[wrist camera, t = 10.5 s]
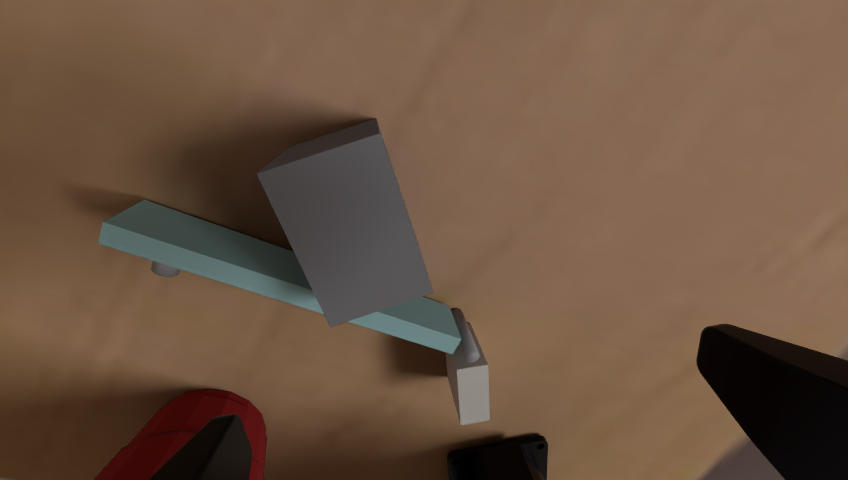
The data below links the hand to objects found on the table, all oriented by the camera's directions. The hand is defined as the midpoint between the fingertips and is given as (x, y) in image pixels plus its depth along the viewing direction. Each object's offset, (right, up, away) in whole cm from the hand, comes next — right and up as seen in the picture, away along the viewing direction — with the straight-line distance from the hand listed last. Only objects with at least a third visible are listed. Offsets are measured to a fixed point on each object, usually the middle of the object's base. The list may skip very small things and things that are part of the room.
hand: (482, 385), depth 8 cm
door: (-7, +1, +12) cm, 13 cm away
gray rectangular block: (-4, +5, +11) cm, 13 cm away
